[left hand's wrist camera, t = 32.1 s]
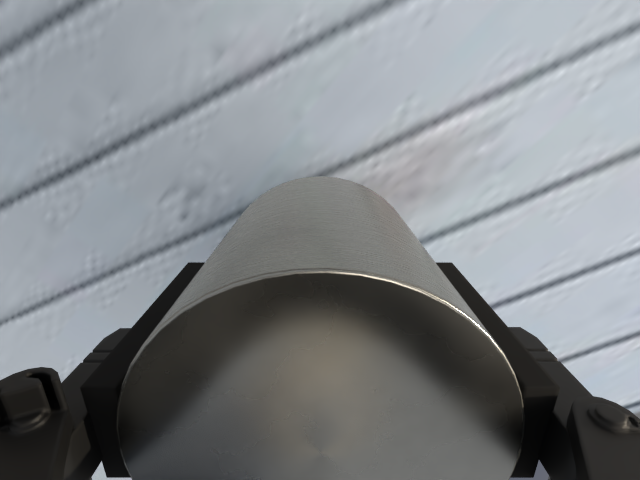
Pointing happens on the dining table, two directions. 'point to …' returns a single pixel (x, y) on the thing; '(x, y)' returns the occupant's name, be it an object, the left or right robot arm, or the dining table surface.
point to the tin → (320, 357)
